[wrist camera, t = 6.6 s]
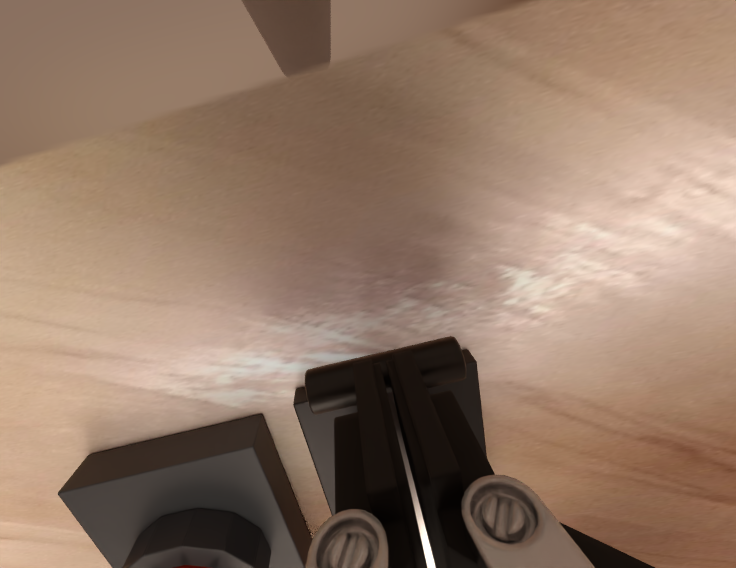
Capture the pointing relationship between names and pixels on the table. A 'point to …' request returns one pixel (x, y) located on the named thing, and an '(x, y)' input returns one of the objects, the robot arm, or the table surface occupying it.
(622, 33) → the table surface
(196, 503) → the button block
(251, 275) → the table surface
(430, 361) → the lever
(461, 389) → the bracket
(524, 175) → the table surface
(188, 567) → the button
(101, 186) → the table surface
